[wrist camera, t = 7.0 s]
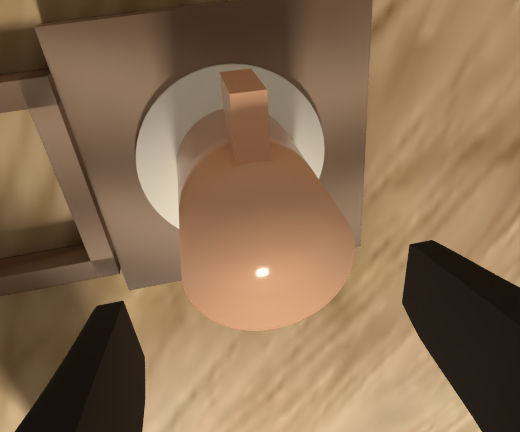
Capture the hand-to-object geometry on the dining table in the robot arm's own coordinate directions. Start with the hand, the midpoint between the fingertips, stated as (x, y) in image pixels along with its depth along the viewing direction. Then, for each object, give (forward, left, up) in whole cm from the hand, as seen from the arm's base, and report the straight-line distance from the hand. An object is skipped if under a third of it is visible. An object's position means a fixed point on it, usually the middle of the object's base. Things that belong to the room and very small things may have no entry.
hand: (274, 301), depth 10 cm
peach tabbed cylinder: (0, 0, -8) cm, 8 cm away
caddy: (0, -5, -10) cm, 11 cm away
